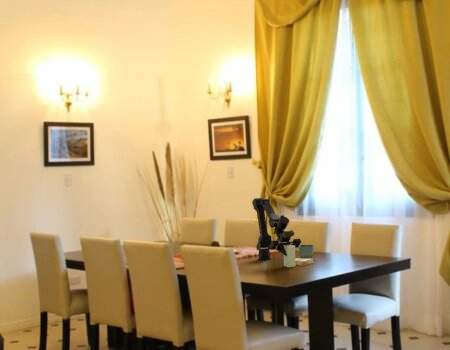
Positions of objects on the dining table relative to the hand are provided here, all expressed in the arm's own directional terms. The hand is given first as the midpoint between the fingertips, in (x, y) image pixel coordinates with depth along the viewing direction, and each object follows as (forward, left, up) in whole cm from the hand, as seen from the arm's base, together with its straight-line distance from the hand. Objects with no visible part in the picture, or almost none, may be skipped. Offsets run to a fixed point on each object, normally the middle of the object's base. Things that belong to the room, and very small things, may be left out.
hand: (290, 255), depth 365 cm
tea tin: (-1, +1, -7) cm, 7 cm away
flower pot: (-4, +27, -7) cm, 28 cm away
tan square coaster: (0, +12, -7) cm, 14 cm away
